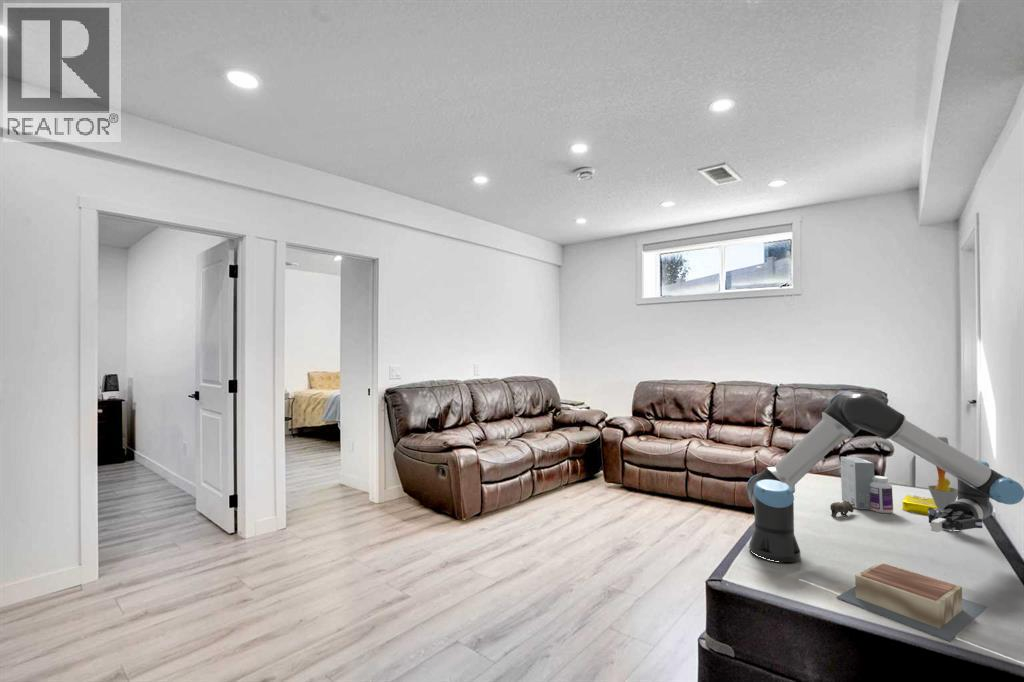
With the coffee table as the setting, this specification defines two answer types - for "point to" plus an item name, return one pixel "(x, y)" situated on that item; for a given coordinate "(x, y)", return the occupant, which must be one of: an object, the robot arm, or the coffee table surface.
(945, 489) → the lava lamp
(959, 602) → the birch slab
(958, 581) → the coffee table surface
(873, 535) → the coffee table surface
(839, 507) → the bison figurine
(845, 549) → the coffee table surface
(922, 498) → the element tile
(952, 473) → the robot arm
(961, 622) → the slate mat
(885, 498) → the pill bottle
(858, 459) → the hard drive box
